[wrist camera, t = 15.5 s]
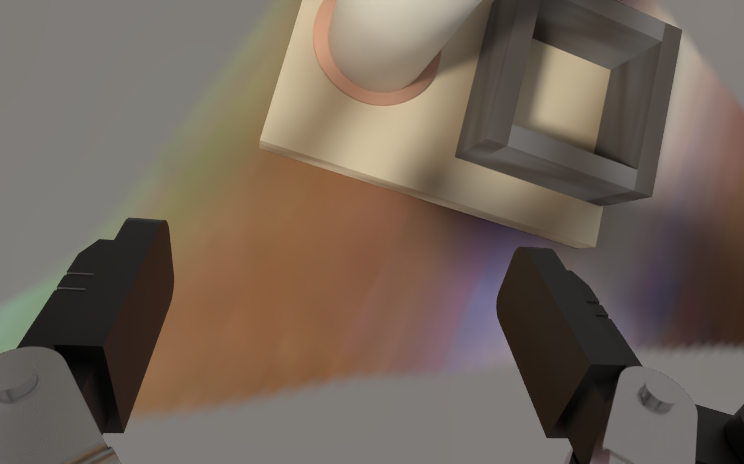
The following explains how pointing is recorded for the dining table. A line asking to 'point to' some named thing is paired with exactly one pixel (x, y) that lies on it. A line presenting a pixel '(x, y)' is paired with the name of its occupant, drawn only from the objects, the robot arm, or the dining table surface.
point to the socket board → (495, 114)
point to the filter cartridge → (391, 38)
